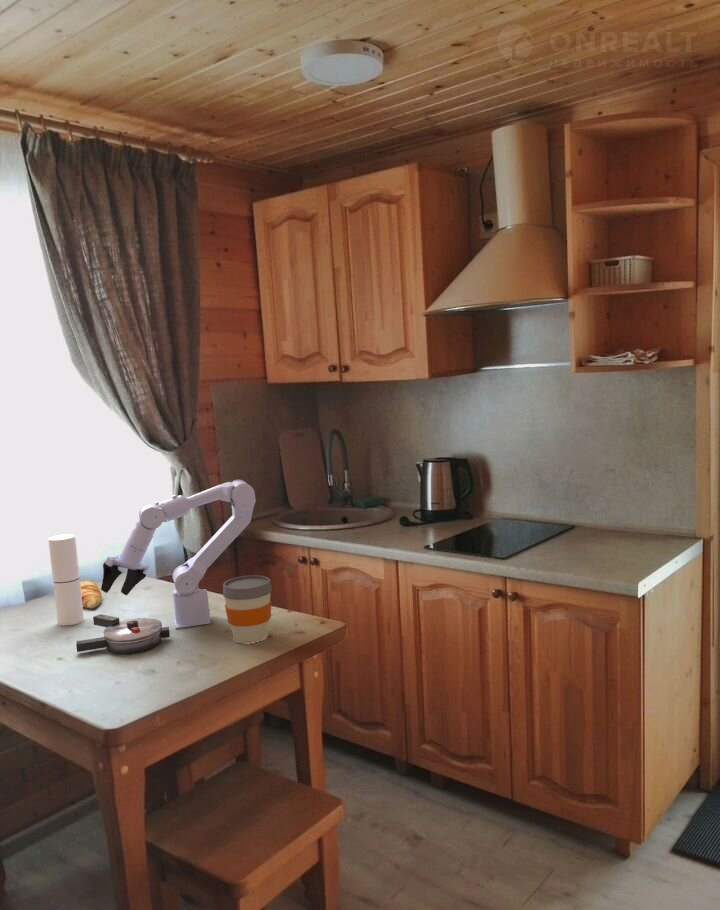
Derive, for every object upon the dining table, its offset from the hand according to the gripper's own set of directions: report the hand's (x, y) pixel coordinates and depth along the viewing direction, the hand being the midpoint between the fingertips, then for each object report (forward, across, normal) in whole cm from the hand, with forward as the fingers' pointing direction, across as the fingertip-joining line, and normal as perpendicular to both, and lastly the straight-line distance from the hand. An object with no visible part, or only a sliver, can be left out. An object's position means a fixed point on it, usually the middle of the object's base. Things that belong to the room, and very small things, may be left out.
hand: (114, 592), depth 205 cm
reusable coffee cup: (-6, -12, +38) cm, 40 cm away
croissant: (+15, -22, -28) cm, 39 cm away
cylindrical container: (+17, -8, -17) cm, 25 cm away
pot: (+9, +2, +13) cm, 16 cm away
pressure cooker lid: (+6, +1, +10) cm, 12 cm away
